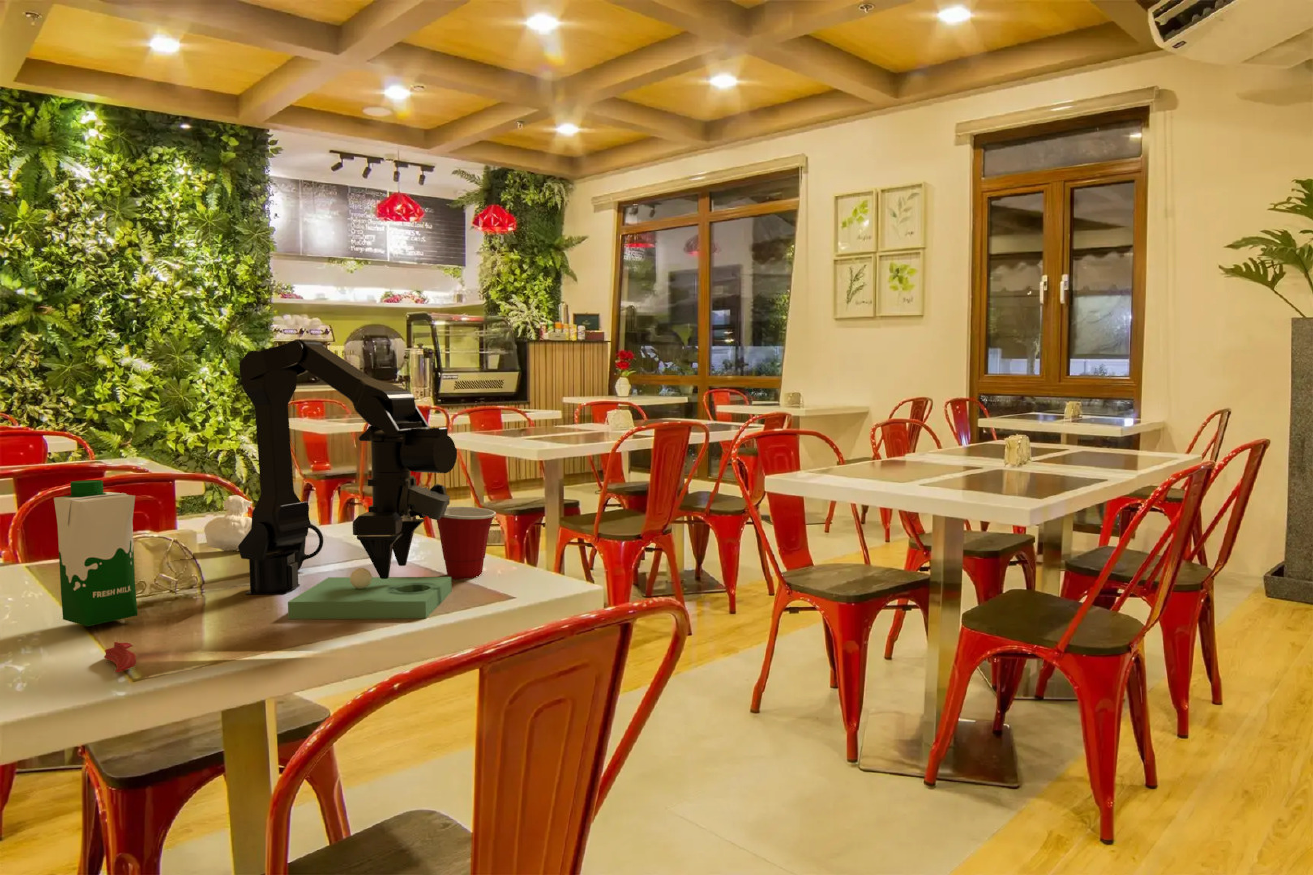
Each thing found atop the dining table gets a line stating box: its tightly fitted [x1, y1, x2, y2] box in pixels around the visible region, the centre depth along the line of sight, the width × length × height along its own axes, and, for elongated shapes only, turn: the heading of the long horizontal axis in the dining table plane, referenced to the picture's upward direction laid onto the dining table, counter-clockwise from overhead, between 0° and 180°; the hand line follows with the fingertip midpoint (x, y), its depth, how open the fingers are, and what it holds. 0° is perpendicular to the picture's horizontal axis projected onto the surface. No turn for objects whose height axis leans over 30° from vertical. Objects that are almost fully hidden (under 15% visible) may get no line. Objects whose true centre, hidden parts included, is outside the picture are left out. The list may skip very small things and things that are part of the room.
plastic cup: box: [436, 506, 497, 580], centre depth 156 cm, size 11×11×12 cm
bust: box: [203, 494, 253, 552], centre depth 181 cm, size 12×8×11 cm, turn 91°
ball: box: [349, 567, 373, 589], centre depth 137 cm, size 3×3×3 cm
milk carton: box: [53, 479, 138, 627], centre depth 130 cm, size 9×9×20 cm
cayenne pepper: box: [103, 641, 137, 673], centre depth 113 cm, size 12×5×2 cm, turn 18°
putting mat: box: [287, 576, 452, 620], centre depth 137 cm, size 20×16×2 cm
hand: (393, 571), depth 137 cm, fingers open, 9 cm apart
